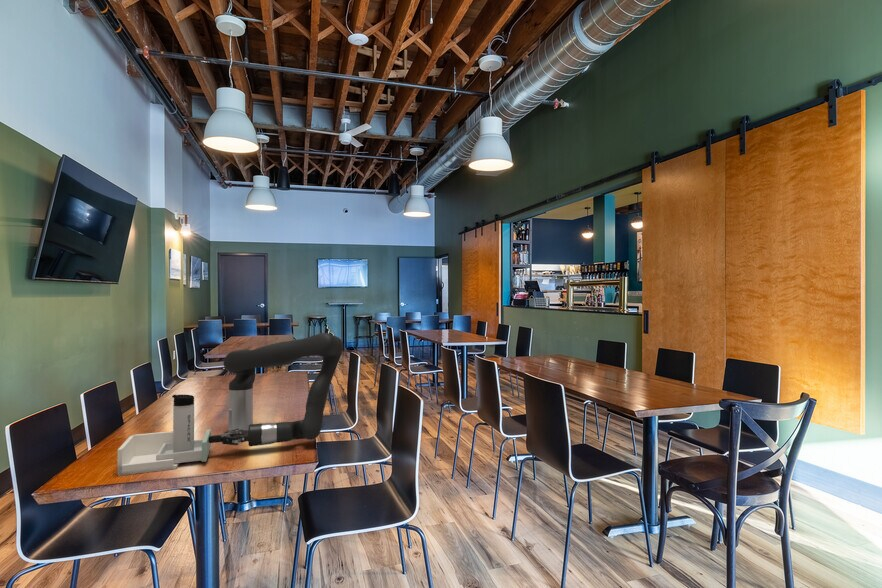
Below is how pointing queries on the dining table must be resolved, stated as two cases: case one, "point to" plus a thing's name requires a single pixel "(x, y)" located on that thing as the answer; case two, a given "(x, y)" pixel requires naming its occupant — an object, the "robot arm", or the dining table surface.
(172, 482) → the dining table surface
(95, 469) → the dining table surface
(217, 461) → the dining table surface
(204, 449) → the tray
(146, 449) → the dock
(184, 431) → the travel mug
